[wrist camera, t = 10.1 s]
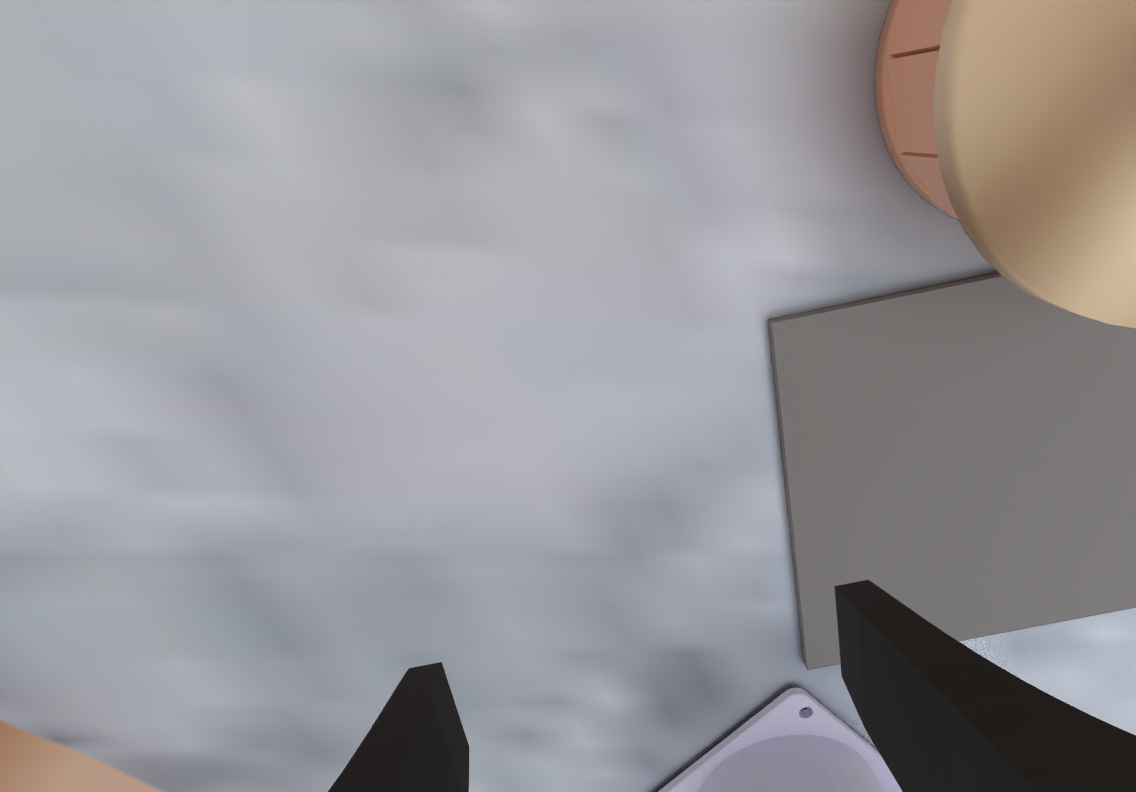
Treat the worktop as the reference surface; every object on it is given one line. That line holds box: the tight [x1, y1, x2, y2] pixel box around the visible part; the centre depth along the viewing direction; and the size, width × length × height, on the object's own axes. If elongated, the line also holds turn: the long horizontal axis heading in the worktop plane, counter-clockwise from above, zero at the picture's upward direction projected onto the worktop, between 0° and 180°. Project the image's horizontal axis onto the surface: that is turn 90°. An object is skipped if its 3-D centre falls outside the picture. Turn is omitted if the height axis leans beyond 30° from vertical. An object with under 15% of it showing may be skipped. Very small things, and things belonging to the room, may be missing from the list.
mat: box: [768, 273, 1136, 670], centre depth 24 cm, size 13×16×1 cm
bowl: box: [875, 0, 959, 220], centre depth 17 cm, size 9×9×5 cm
